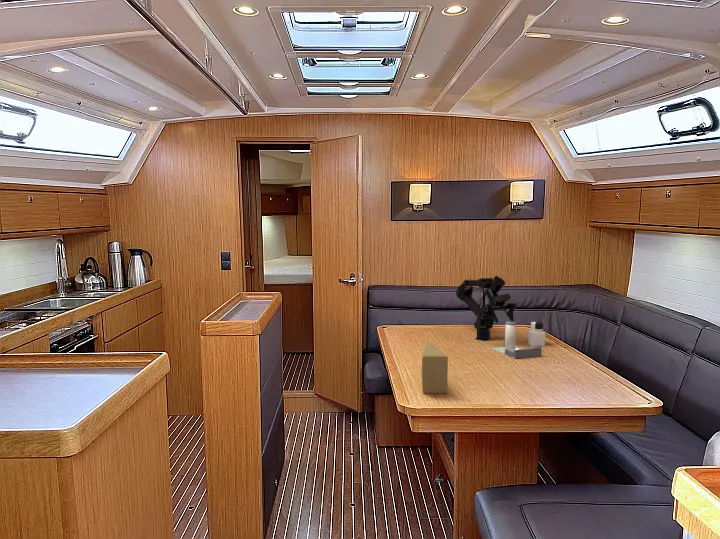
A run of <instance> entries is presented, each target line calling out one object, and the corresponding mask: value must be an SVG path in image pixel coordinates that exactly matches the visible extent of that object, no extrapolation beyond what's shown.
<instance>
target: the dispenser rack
mask: <svg viewBox="0 0 720 539" xmlns="http://www.w3.org/2000/svg"><path fill="white" fill-rule="evenodd" d="M542 347H543V346H528V347H521V348H519V349H514V352H513V351H511V350H508V349H505V354H504V355H505V356H507V355H508V356H507V357H510V358H512V357H513V359H514V358H515V359H514V360H519V359H518V358H520V359H527V358H528V359H529V358H537V357H542V356H543V355H542V353H543V351H542V350H543V348H542Z"/></svg>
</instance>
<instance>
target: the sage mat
mask: <svg viewBox="0 0 720 539" xmlns="http://www.w3.org/2000/svg"><path fill="white" fill-rule="evenodd" d="M519 348H522V347H520V346H518V345H515V349H519ZM490 349H491V350H494V351H496V352H498V353H501V354H503V355H505V346H499V347H491V348H490ZM513 352H514V351H513Z"/></svg>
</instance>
